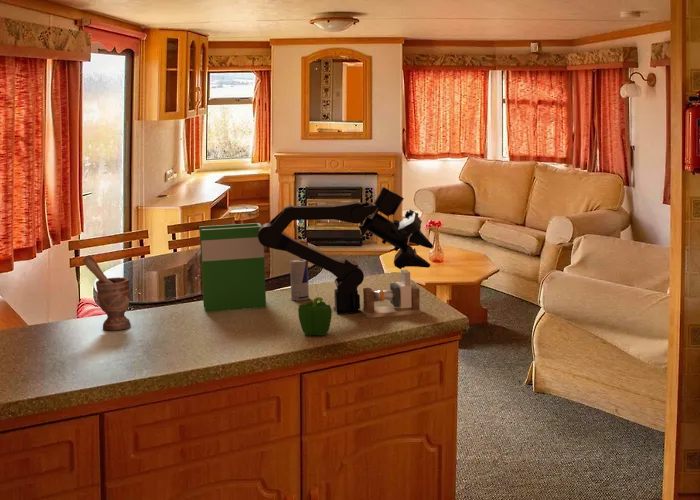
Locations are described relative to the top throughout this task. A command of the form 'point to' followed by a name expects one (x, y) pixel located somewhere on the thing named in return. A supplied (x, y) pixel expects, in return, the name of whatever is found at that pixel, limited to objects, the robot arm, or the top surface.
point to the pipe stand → (388, 295)
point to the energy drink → (299, 279)
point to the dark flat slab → (395, 294)
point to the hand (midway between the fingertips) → (431, 256)
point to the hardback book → (232, 267)
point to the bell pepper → (315, 317)
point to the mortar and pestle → (111, 296)
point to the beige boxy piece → (405, 290)
